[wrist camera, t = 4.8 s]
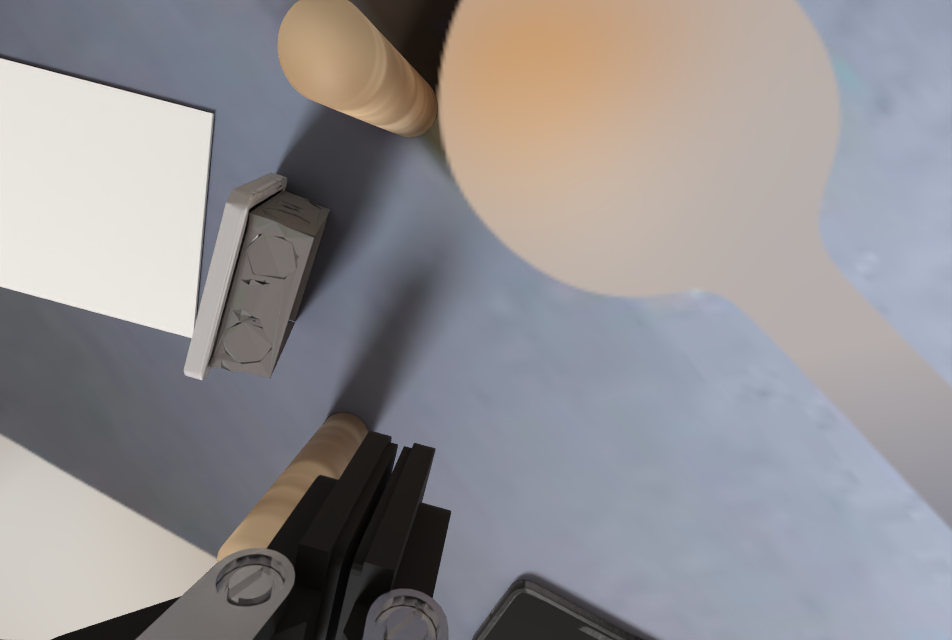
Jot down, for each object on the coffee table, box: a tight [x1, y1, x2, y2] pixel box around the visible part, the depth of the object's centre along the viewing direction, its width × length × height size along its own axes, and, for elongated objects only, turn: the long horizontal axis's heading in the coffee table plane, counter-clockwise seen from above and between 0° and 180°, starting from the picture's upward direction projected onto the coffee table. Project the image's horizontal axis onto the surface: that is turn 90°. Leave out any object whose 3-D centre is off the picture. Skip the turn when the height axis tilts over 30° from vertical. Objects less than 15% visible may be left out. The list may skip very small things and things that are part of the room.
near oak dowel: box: [278, 0, 438, 138], centre depth 22 cm, size 3×3×12 cm
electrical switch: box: [184, 173, 330, 380], centre depth 26 cm, size 9×5×9 cm, turn 158°
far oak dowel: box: [217, 412, 368, 563], centre depth 27 cm, size 3×3×12 cm
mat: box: [0, 58, 214, 338], centre depth 30 cm, size 14×15×1 cm
